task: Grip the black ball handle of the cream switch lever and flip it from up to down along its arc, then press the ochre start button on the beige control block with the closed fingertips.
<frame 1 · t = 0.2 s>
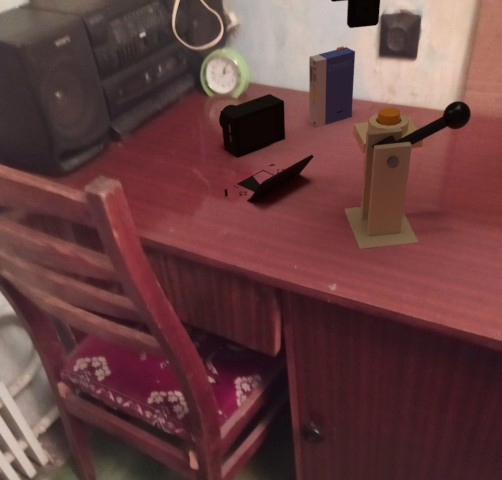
hand: (352, 12, 64), 28 cm above the table, tool pointing down, fingers open, 9 cm apart
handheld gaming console: (269, 192, 92), on the table
switch bracket: (379, 231, 82), on the table
switch lever: (422, 133, 72), point 14 cm above the table, hinge at 25.0°
start button: (388, 117, 99), point 4 cm above the table, slide at 0.1 cm
digital camera: (253, 144, 104), on the table
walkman: (330, 121, 109), on the table
button block: (386, 139, 101), on the table
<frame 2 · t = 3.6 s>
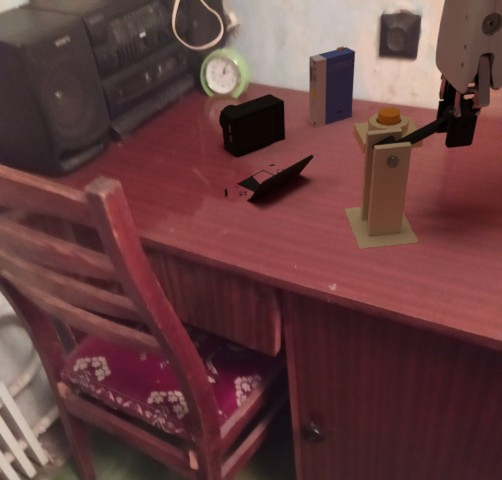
hand: (452, 137, 73), 13 cm above the table, tool pointing down, fingers closed on switch lever, 3 cm apart
switch lever: (422, 133, 72), point 14 cm above the table, hinge at 25.0°, touching gripper
everything else where it was.
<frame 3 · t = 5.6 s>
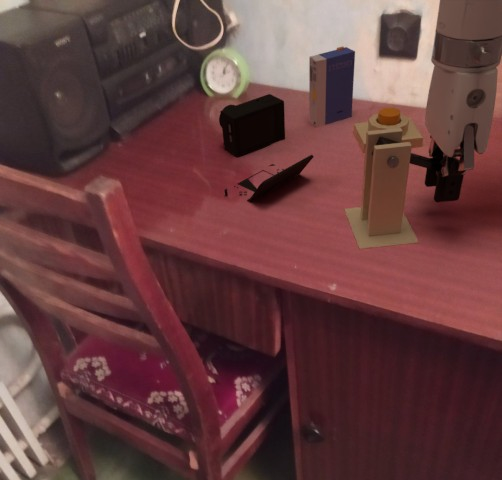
hand: (441, 191, 78), 5 cm above the table, tool pointing down, fingers closed on switch lever, 3 cm apart
switch lever: (419, 160, 75), point 10 cm above the table, hinge at -21.7°, touching gripper
everything else where it was.
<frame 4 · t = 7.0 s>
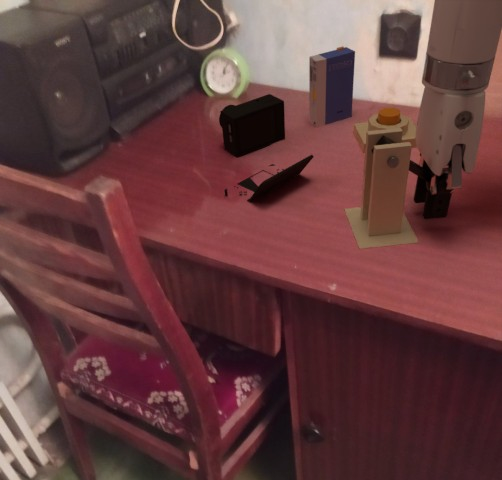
hand: (429, 208, 80), 3 cm above the table, tool pointing down, fingers open, 3 cm apart
switch lever: (414, 167, 75), point 9 cm above the table, hinge at -35.2°
everything else where it was.
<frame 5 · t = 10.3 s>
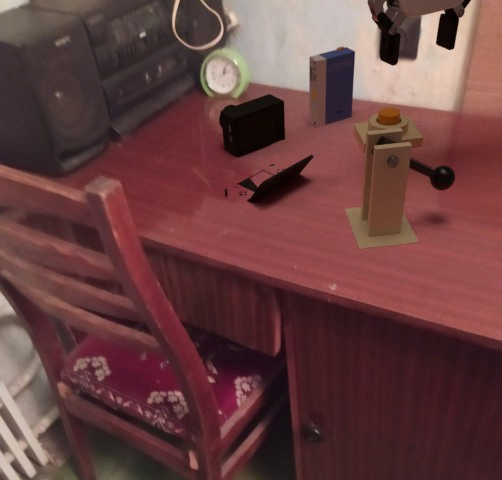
hand: (417, 54, 81), 18 cm above the table, tool pointing down, fingers open, 9 cm apart
switch lever: (416, 165, 75), point 10 cm above the table, hinge at -30.6°
everything else where it was.
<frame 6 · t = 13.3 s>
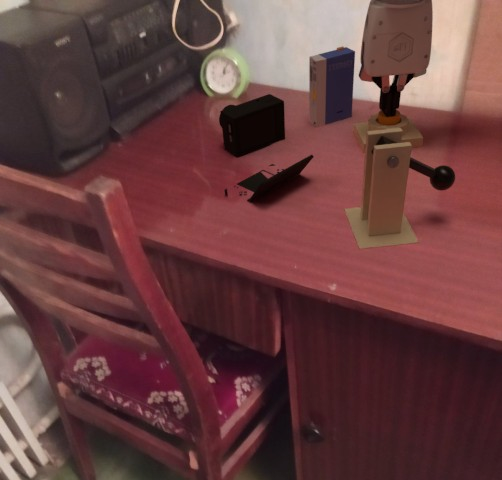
hand: (388, 112, 98), 5 cm above the table, tool pointing down, fingers closed
start button: (388, 118, 99), point 4 cm above the table, slide at -0.1 cm, touching gripper
everything else where it was.
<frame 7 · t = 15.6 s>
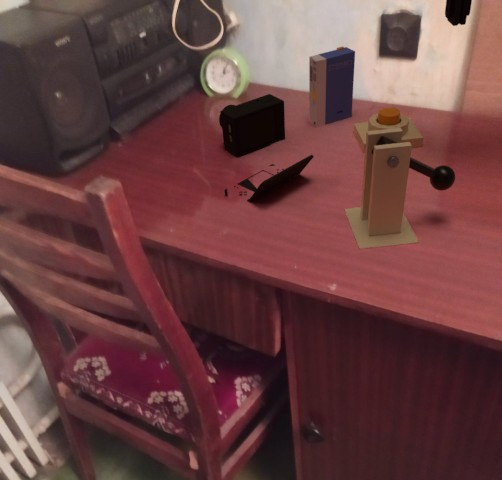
hand: (456, 22, 82), 20 cm above the table, tool pointing down, fingers closed
start button: (388, 117, 99), point 4 cm above the table, slide at 0.1 cm
everything else where it was.
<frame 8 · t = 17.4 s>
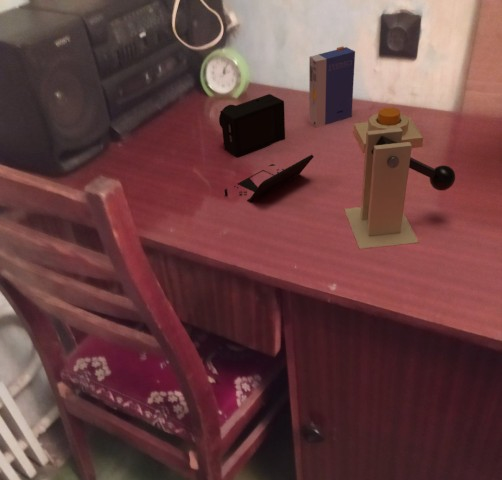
nothing on the table moved.
at the end: switch lever at -31° (first picture: +25°); start button pushed in 1.1 cm at the most during the clip, back to where it started at the end; start button slide at 0.1 cm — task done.
